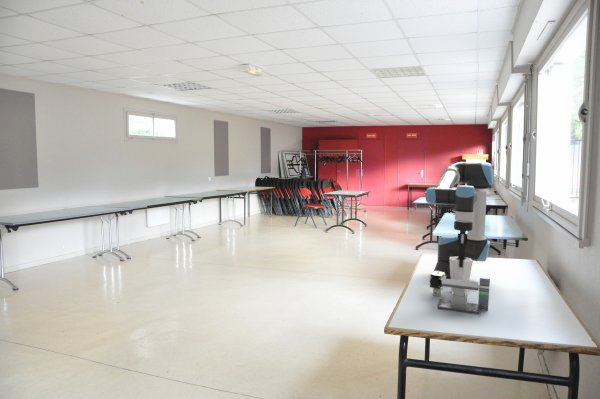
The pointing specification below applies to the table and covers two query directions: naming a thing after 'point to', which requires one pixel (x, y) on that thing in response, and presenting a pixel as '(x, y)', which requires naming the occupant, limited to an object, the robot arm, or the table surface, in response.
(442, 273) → the pneumatic valve
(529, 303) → the table surface
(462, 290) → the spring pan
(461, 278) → the cup
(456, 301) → the stand
